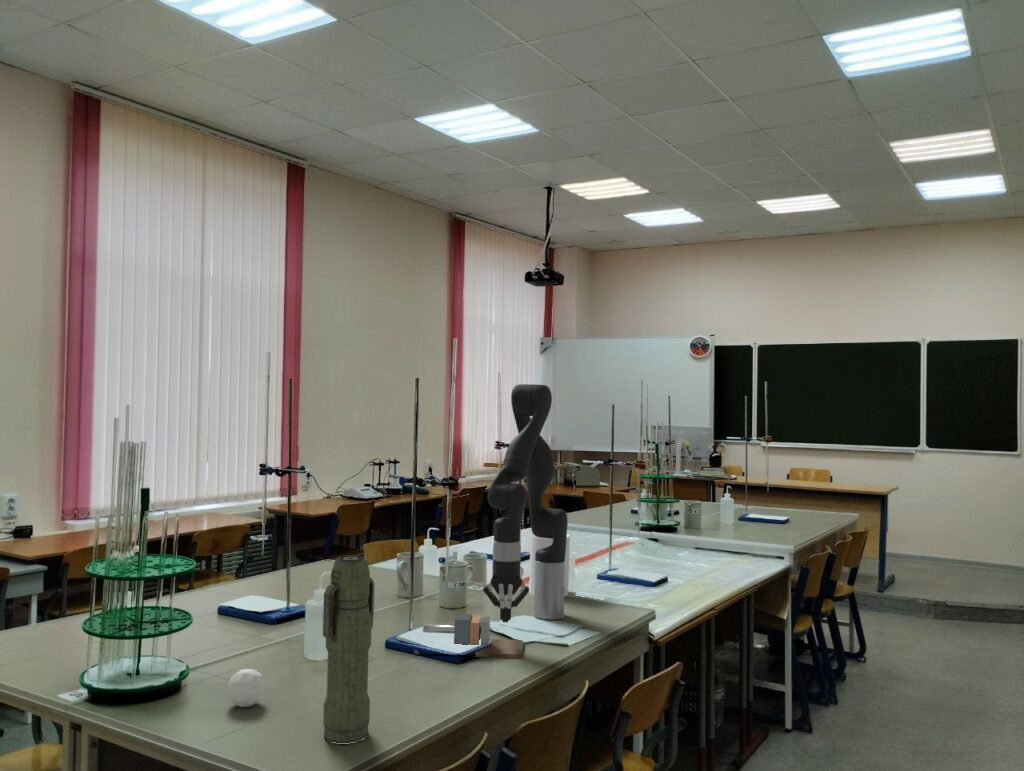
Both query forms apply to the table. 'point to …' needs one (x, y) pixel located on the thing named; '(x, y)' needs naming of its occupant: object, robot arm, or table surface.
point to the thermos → (348, 649)
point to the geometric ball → (246, 687)
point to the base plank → (500, 649)
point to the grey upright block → (462, 629)
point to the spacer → (475, 630)
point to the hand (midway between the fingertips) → (505, 621)
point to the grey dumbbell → (483, 629)
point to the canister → (535, 545)
